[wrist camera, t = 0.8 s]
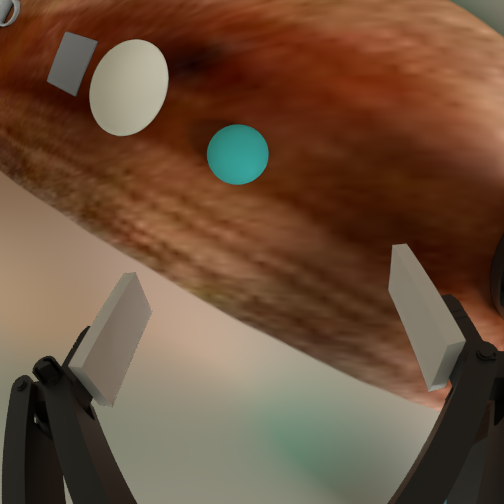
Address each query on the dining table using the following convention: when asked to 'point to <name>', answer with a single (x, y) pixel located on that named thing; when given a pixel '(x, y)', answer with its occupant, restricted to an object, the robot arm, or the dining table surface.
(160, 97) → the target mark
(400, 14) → the dining table surface
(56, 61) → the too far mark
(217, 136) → the ball
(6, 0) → the ceramic mug
